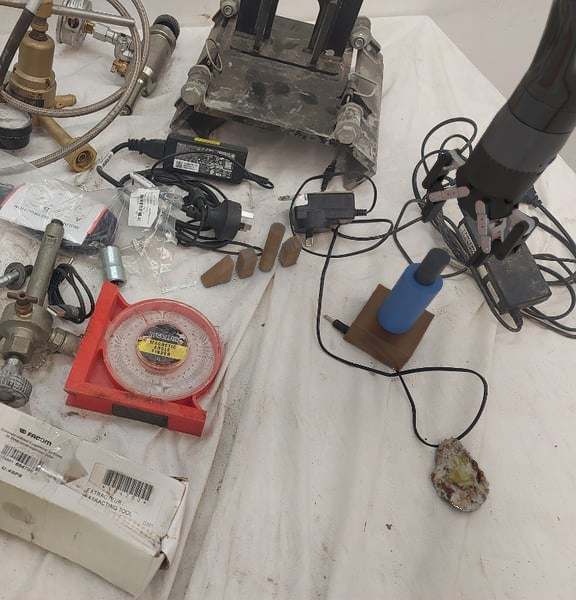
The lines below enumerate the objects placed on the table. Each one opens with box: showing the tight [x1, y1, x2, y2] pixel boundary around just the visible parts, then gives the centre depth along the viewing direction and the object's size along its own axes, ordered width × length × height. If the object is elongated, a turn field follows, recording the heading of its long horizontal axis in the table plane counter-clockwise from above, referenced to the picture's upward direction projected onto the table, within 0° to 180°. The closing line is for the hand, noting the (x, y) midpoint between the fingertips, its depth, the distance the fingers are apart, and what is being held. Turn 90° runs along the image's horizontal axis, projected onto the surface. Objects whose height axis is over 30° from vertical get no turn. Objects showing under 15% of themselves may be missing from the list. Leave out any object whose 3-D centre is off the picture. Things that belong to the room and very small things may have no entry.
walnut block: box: [343, 283, 436, 372], centre depth 94 cm, size 10×10×5 cm
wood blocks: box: [161, 221, 304, 294], centre depth 96 cm, size 25×3×10 cm, turn 111°
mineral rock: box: [430, 436, 491, 513], centre depth 82 cm, size 11×4×8 cm
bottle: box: [377, 247, 451, 334], centre depth 85 cm, size 6×6×16 cm
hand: (448, 242), depth 77 cm, fingers open, 8 cm apart
